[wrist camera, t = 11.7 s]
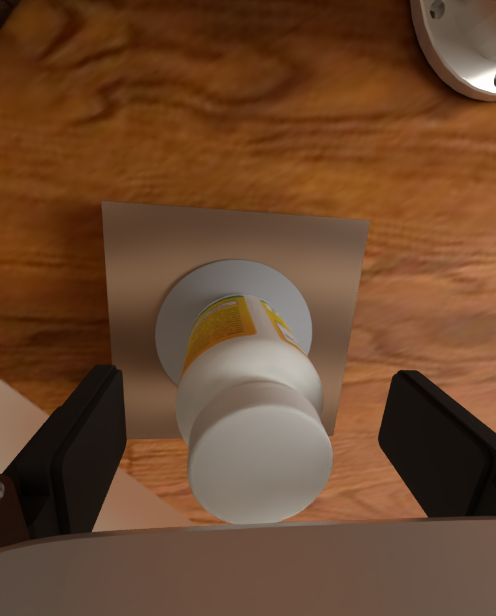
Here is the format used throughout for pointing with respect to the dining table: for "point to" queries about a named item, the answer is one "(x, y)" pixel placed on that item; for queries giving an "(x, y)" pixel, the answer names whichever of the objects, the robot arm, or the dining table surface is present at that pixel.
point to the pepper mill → (6, 9)
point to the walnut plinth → (222, 293)
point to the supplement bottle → (251, 415)
